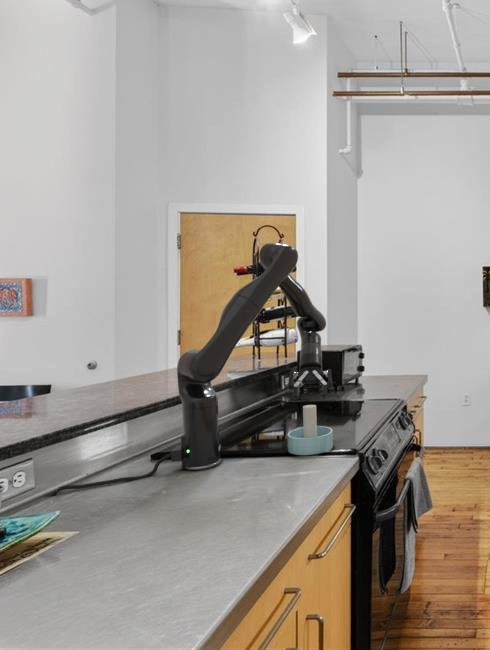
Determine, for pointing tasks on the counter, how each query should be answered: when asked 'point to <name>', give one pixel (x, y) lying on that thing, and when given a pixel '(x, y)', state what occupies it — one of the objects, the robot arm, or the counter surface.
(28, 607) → the counter surface
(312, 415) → the blade
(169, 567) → the counter surface
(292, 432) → the processor bowl
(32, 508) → the counter surface
